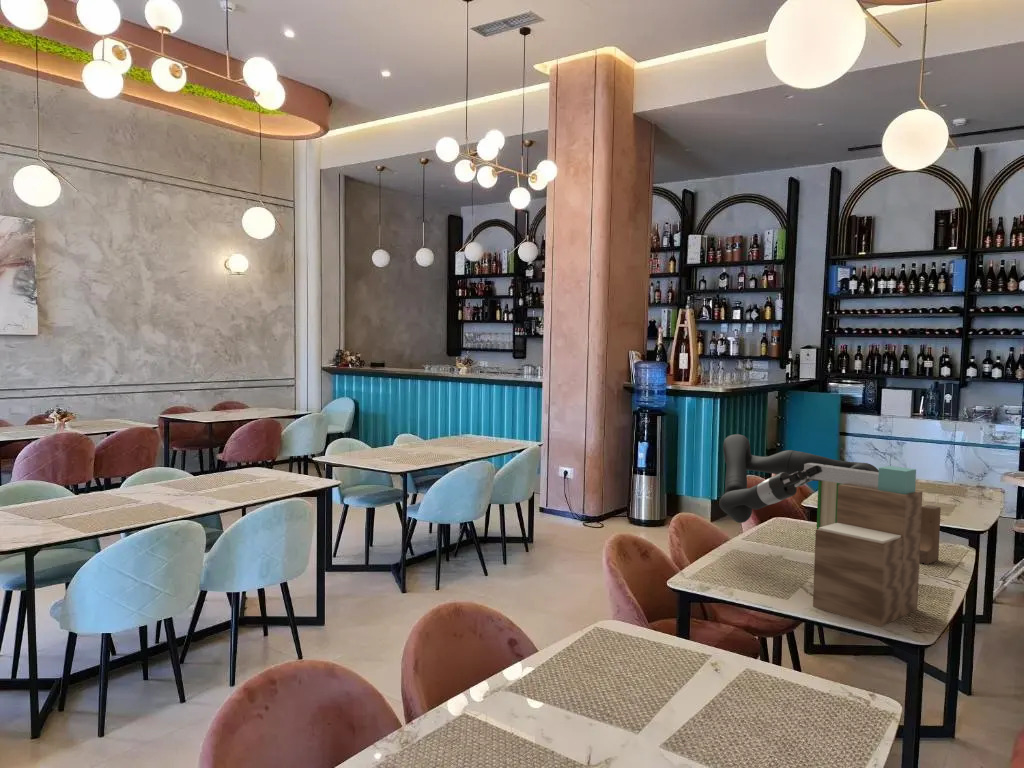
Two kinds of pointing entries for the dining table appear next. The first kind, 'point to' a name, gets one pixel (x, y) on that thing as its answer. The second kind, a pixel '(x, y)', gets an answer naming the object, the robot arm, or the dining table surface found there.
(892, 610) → the stepped wooden riser
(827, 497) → the hardback book
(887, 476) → the mallet
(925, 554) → the wooden block
